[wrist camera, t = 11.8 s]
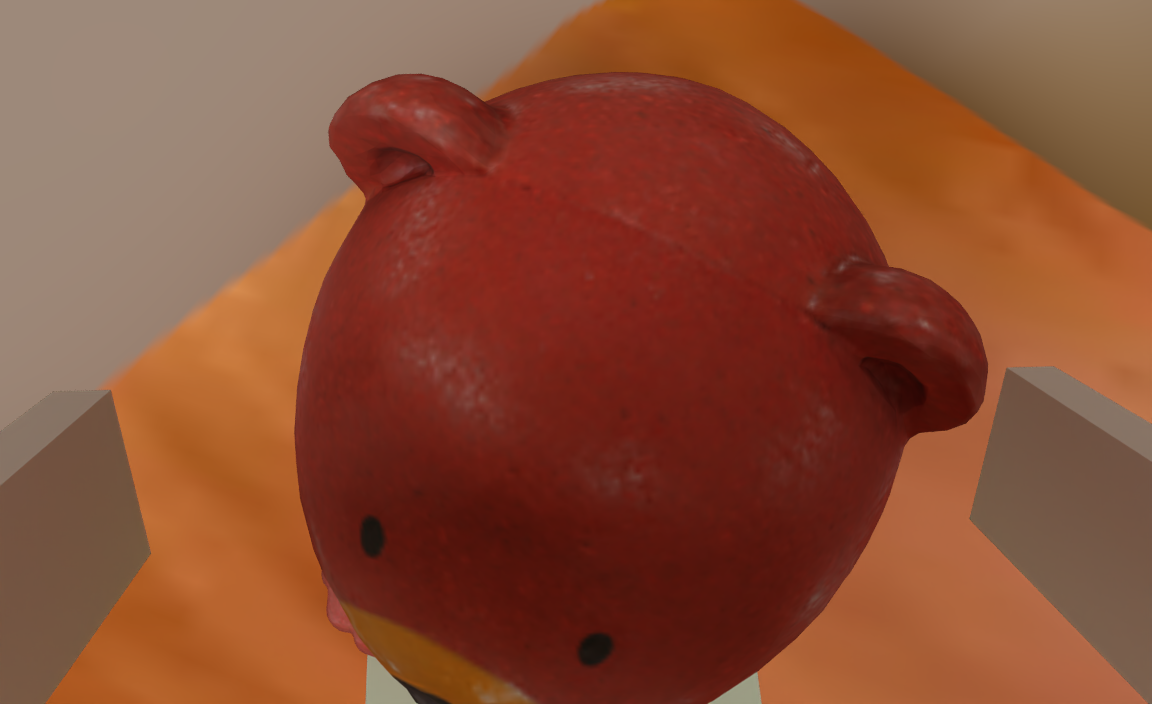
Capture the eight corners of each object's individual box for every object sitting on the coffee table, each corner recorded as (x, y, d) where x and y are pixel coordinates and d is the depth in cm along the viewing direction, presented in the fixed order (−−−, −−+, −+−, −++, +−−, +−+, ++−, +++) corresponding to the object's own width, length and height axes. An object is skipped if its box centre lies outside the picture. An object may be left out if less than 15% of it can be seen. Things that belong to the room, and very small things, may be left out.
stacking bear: (295, 604, 21) (-435, 409, 5) (494, 331, 25) (449, -298, 9) (622, 830, 20) (1123, 1623, 3) (783, 504, 24) (1398, 139, 7)
